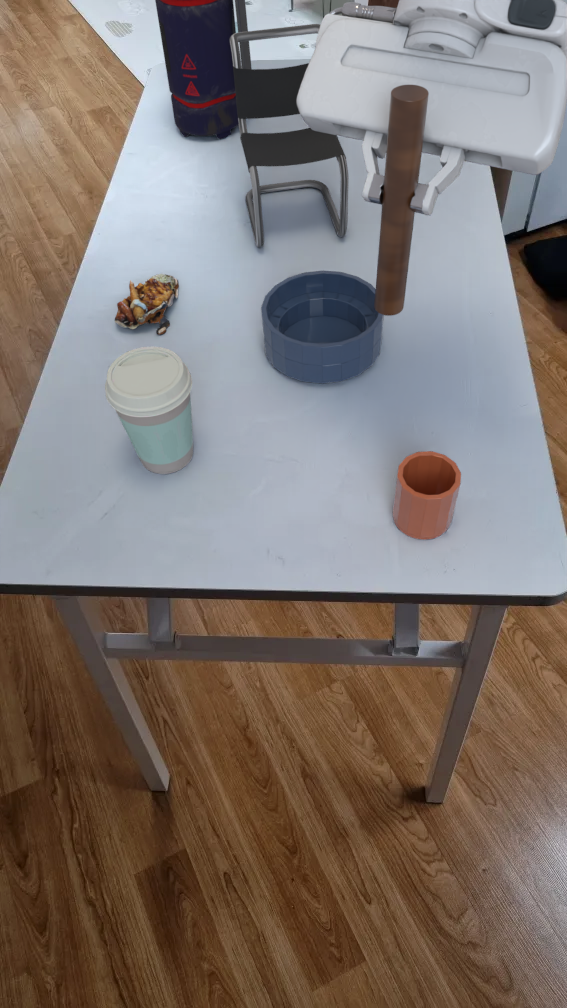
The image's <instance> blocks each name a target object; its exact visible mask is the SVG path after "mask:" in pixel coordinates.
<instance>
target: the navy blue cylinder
mask: <svg viewBox="0 0 567 1008" xmlns="http://www.w3.org/2000/svg"><path fill="white" fill-rule="evenodd" d="M154 2H155V7H156V14H157V20H158V26H159V32H160V39H161V46H162V51H163V59H164V65H165V71H166V76H167V83H168V88H169V89H168V90H169V92H170V93H171V94H170V101H171V106H172V112H173V113H172V114H173V120H174V124H175V126H176V128H177V129H178V130H179V132H180V134H181V135H182V136H183V137H184V138H188V137H190V135H192V136H196V137H212V136H215V138H216V139H217V140H222V139H226V138H227V137H229V136H231V135H232V130H233V129H234V128H236V127H237V126H239V122H238V115H237V104H236V93H235V82H234V71H233V59H232V51H231V45H230V37H231V36H232V35H233V34H235V33H239V32H247V31H249V29H248V18H247V17H248V16H247V5H246V0H154ZM234 6H235V7H234ZM235 15H236V19H235ZM236 25H237V29H236ZM238 44H239V50H240V58H241V66H242V69H252V68H253V67H252V59H251V58H252V57H251V47H250V41H244V42H238Z"/></svg>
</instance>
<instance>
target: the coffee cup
mask: <svg viewBox="0 0 567 1008" xmlns="http://www.w3.org/2000/svg"><path fill="white" fill-rule="evenodd" d="M192 388H193V377H192V374H191V372H190V370H189V368H188V366H187V364H186V363H185V362H183V360H182V358H181V357H180V356H179V354H177V353H176V352H174V351H173V350H171V349H168V348H165V347H161V346H153V345H152V346H151V345H150V346H141V347H136V348H133V349H131V350H128V351H126V352H123V354H120V355H119V356H118V357H117V358H116V359H115V360H114V361H113V362H112V363H111V364H110V365H109V368H108V370H107V372H106V380H105V384H104V390H105V391H104V392H105V398H106V401H107V403H108V404H109V406H110V407H111V408H113V409H114V411H115V412H116V414H117V417H118V418H119V421H120V423H121V425H122V426H123V429H124V431H125V433H126V435H127V436H128V439H129V440H130V442H131V445H132V447H133V448H134V450H135V453H136V455H137V456H138V459H139V461H140V463H141V465H142V466H143V467H144V468H145V469H146V470H148V472H151V473H154V474H159V475H169V474H173V473H177V472H178V471H181V470H182V469H184V468H185V467H186V466H188V464H189V463H190V462H191V460H192V459H193V456H194V438H193V421H192V420H193V419H192V401H191V391H192Z"/></svg>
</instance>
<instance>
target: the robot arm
mask: <svg viewBox="0 0 567 1008" xmlns="http://www.w3.org/2000/svg"><path fill="white" fill-rule="evenodd" d="M320 24H321V25H320V28H319V32H318V34H317V35H316V39H315V49H314V51H313V53H312V55H311V57H310V60H309V62H308V63H309V64H308V67H307V69H306V72H305V75H304V77H303V80H302V83H301V86H300V89H299V92H298V95H297V101H296V102H297V107H298V110H299V112H300V114H299V115H300V117H301V119H302V120H303V121H304V123H305V124H306V125H307V126H308V128H311V129H312V130H314V131H318V132H323V133H328V134H333V135H337V137H343V138H347V139H353V140H358V141H362V143H361V150H362V156H363V159H364V164H365V169H366V172H367V175H366V178H365V182H364V185H363V189H362V193H361V194H362V195H361V197H362V198H363V200H364V202H367V203H370V204H371V203H372V204H377V205H381V206H382V200H383V188H384V175H383V174H381V172H380V167H379V161H378V159H382V160H383V159H386V149H387V136H388V124H389V111H390V98H391V91H392V90H393V89H394V88H395V87H398V86H401V85H418V86H421V87H424V88H425V89H427V90H428V93H429V95H428V104H427V112H426V121H425V129H424V138H423V146H422V154H427V155H432V156H437V157H440V158H439V163H440V166H441V168H440V170H439V171H438V172H437V173H436V174H435V175H434V176H433V177H432V178H431V179H430V180H429V181H428V182H427V183H421V182H418V183H417V186H416V188H415V191H414V193H415V196H414V197H412V200H411V204H410V208H411V209H412V211H413V212H415V214H416V213H417V214H420V215H425V216H430V217H431V216H432V214H433V211H434V209H435V206H436V203H437V200H438V197H439V195H441V194H442V193H443V192H444V191H445V190H446V189H447V188H449V186H450V185H451V184H452V183H453V182H454V181H456V179H457V178H458V177H460V175H461V172H462V169H463V166H464V163H465V162H467V163H472V164H478V165H483V166H487V167H492V168H497V169H502V170H508V171H512V172H517V173H522V174H526V175H527V174H528V175H532V176H538V175H540V174H541V173H543V172H544V171H545V170H547V169H548V168H549V167H551V165H552V164H553V162H554V159H555V156H556V153H557V150H558V146H559V144H560V139H561V136H562V132H563V126H564V121H565V115H566V110H567V2H566V1H565V0H398V4H397V7H390V6H385V5H384V6H383V5H365V4H361V3H360V2H356V1H347V2H344V3H343V4H342V6H340V7H336V8H335V9H333V10H331V11H329V12H328V13H326V14H325V15H324V17H323V18H322V20H321V22H320Z"/></svg>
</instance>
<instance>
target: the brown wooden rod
mask: <svg viewBox="0 0 567 1008" xmlns="http://www.w3.org/2000/svg"><path fill="white" fill-rule="evenodd" d="M428 95H429V93H428V90H427V89H425V88H424V87H421V86H418V85H401V86H398V87H395V88H394V89H393V90H392V91H391V98H390V111H389V124H388V136H387V149H386V154H385V161H384V162H385V164H384V175H383V176H384V188H383V200H382V205H381V214H380V215H381V216H380V228H379V238H378V239H379V240H378V254H377V264H376V266H377V267H376V278H375V289H376V290H375V303H374V307H375V310H376V311H377V312H378V313H380V314H383V315H384V316H387V317H388V316H390V317H391V316H396V315H399V314H400V313H402V312H403V310H404V307H405V299H406V290H407V281H408V273H409V264H410V257H411V249H412V247H411V246H412V239H413V232H414V231H413V230H414V222H415V214H416V212H413V211H412V209H411V208H410V204H411V200H412V197H414V196H415V193H414V191H415V188H416V186H417V183H419V180H420V171H421V164H422V163H421V162H422V154H423V153H422V146H423V138H424V129H425V121H426V112H427V104H428Z"/></svg>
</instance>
